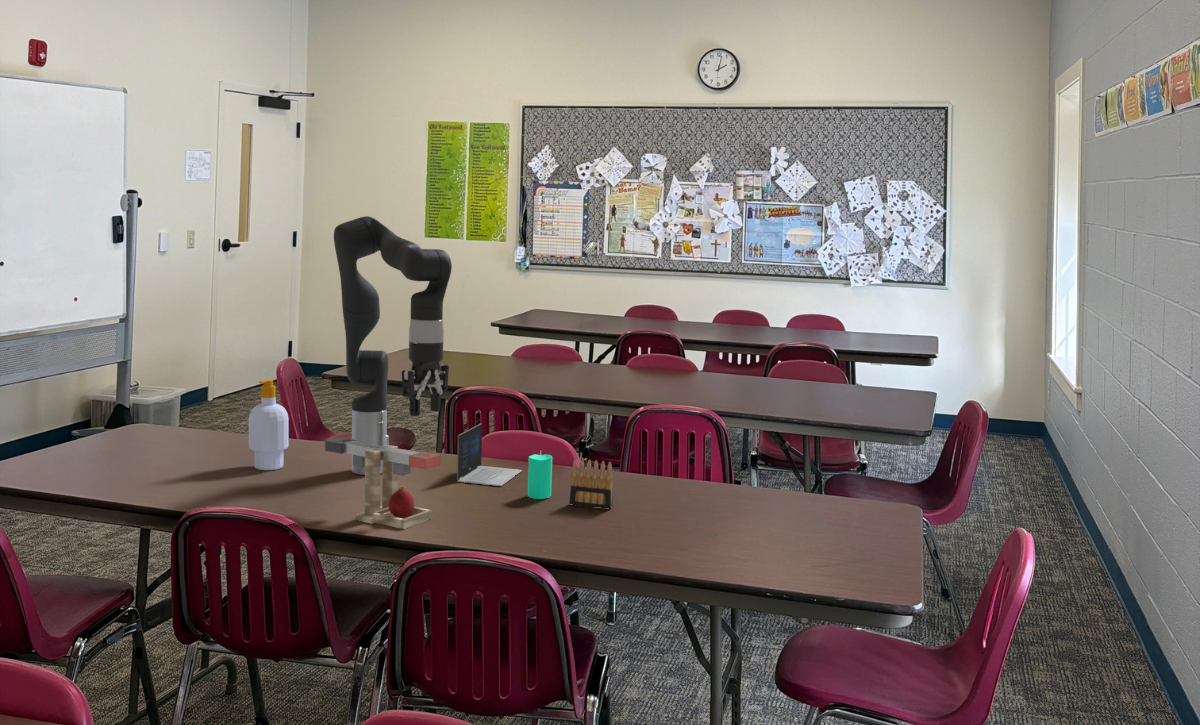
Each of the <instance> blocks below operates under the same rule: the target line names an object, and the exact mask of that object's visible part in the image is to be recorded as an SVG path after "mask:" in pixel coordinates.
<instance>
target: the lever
mask: <svg viewBox="0 0 1200 725" xmlns="http://www.w3.org/2000/svg"><path fill="white" fill-rule="evenodd" d="M370 449H372V450H378V451H381V460H384V461H390V462H393V474H397V476H402V477H403V476H406V475H409V474H411V473H412V472H411V470H412V468H417V469H422V470H429V469H433V468H436V467H440V466H441V459H442V457H441V456H442V455H441V454H437V453H432V452H425V451H421V452H419V451H414V450H407V449H403V448H402V449H401V448H399V447H398V448H392V447H386V446H381V445H375V444H369V443H364V442H358V441H356V440H353V439H352V438H347V437H346V438H345V437H336V438H332V439H327V440H325V442H324V450H325V452H331V453H334V454H335V453H336V454H341V455H342V454H348V455H351V456H352V455H353V466H355V467H360V468H364V467H365V451H366V450H370ZM411 467H412V468H411Z"/></svg>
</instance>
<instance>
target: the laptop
mask: <svg viewBox="0 0 1200 725" xmlns="http://www.w3.org/2000/svg"><path fill="white" fill-rule="evenodd" d="M482 437H483V423H479V424H477V425H475V426H473V427H472V428H470V429H467V430H466V431H464V432H462V433H459V435H457V455H456V456H457V459H456V460H457V463H456V464H457V466H456V481H457V482H464V483H469V484H470V483H471V485H477V484H482V485H481V486H489V485H492V486H491V487H502V486H504V485H505V484H506V483H507V482H509V481H510V480H512V479H513V478H514V477H515V475H516V476H517V475H519V473H521V472H522V471H523V470H522V469H517V468H516V469H515V468H505V467H497V466H487V465H482V452H483V450H482V449H483V448H482V446H483V445H482V444H483V441H482V440H483V438H482ZM464 483H463V484H464Z"/></svg>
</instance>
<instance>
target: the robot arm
mask: <svg viewBox="0 0 1200 725" xmlns="http://www.w3.org/2000/svg"><path fill="white" fill-rule="evenodd" d="M333 244H334V249H335V255H336V260H337V266H338V270H339V271H338V272H339V278H340V287H341V288H340V289H341V306H342V316H343V324H344V332H345V348H346V349H345V358H346V359H345V362H346V363H345V364H346V365H345V366H346V375H347V379H348V381H349V383H351V384H353V385H368V386H369V385H370V386H371V385H372V386H373V385H374V389H373V390H371V391H370V392H368V393H366V394H362V395H359V396H357V397H354V398H353V399H352V402H351V439H353V440H356V441H358V442H364V443H369V444H375V445H381V446H385V445H390V444H389V443H390V437H389V435H388V434H387V433H388V432H387V429H388V426H387V424H388V420H387V418H388V415H387V414H388V412H387V411H388V406H387V405H388V400H387V398H388V394H387V393H388V376H389V357H388V354H387V352H386V351H384V350H367V349H366V350H364V349H363V350H361V349H360V348H361V346H362V344H363V343H364V341H365V339H366V338H367V337H368V336H369V335H370V334H371V333H372V331H373V330H374V329H375V327H376V326H377V325H378V323H379V320H380V317H381V314H380V313H381V308H380V296H379V292H378V291H377V290H376V288H375V287H374V285H373V284H371V283H370V282H369V281H368V280H367V279H366V278H365V277H364V276H362V274H361V273H360V272H359V270H358V267H357V262H358V260H360V259H362V258H365V257H368V256H371V255H373V254H375V253H377V252H380V256H381V258H382V260H383V261H384V262H385V264H387V265H388V266H389V267H390V268H393V269H396V270H397V271H400V272H401V274H402V275H403V276H404V277H405V278H406V279H408V280H410V281H413V282H428V285H427V287H426V288H425V289H424V290H422V291H417V292H415V293H413V294H412V295H411V298H410V319H409V320H410V322H409V328H408V330H409V331H408V360H409V361H411V363H412V365H411V368H410V369H409V370H408V369H403V370H402V371H401V391H402V394H401V395H402V397H404V398H407V399H409V408H408V409H409V414H410V416H411V417H419V416H420V415H421V399H420V398H421V395H422V392H423V391H425V389H426V386H427V387H428V389H429V391H430V393H431V394H430V406H429V407H430V411H431V412H436V413H437V412H440V410H441V407H442V406H441V405H442V404H441V401H442V400H441V399H442V395H443V392H447V391H448V389H449V388H448V385H449V384H448V383H449V370H450V366H449V365H447V364H442V363H440V362H442V361H443V360H444V333H445V332H444V331H445V330H444V322H443V313H444V311H443V310H444V308H443V307H444V305H443V304H444V300H445V296H446V292H447V288H448V285H449V282H450V278H451V274H452V266H453V265H452V259H451V257H450V255H449V253H447V251H445V250H443V249H436V248H435V249H433V248H431V249H430V248H429V249H428V248H422V247H421V246H420V245H418V244H417V243H415V242H413V241H410V240H407V239H405V238H403V237H400V236H399V235H397V234H395V233H394V231H392V230H390V228H388V227H386V225H384V224H383V223H382V222H380V221H379V220H378V219H376V218H374V217H372V216H369V215H367V216H361V217H358V218H354V219H351V220H348V221H345V222H343V223H339V224H338V225H337V226H336V227H335V228H334V231H333ZM382 468H383V460H381V471H380V475H381V474H382ZM351 472H352V473H353V474H355V475H360V476H361V475H362V476H365V467H364V468H360V467H355V466H353V455H352V454H351Z"/></svg>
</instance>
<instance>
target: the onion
mask: <svg viewBox="0 0 1200 725" xmlns="http://www.w3.org/2000/svg"><path fill="white" fill-rule="evenodd" d="M414 507H415V500H414V497H413V495H412V494H411V493H410V492H409V491H407V490H406V487H405V486H404V485H401V486H400V487H399V488H398V489H397V491H396V492H395V493H394V494H393V495H392V496H391V498H390V500H389V510H390V512H391V513H392V514H393V517H398V518H403V519H405V518H407V517H409V516H410V514H411V513H412V511H413V509H414Z"/></svg>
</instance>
